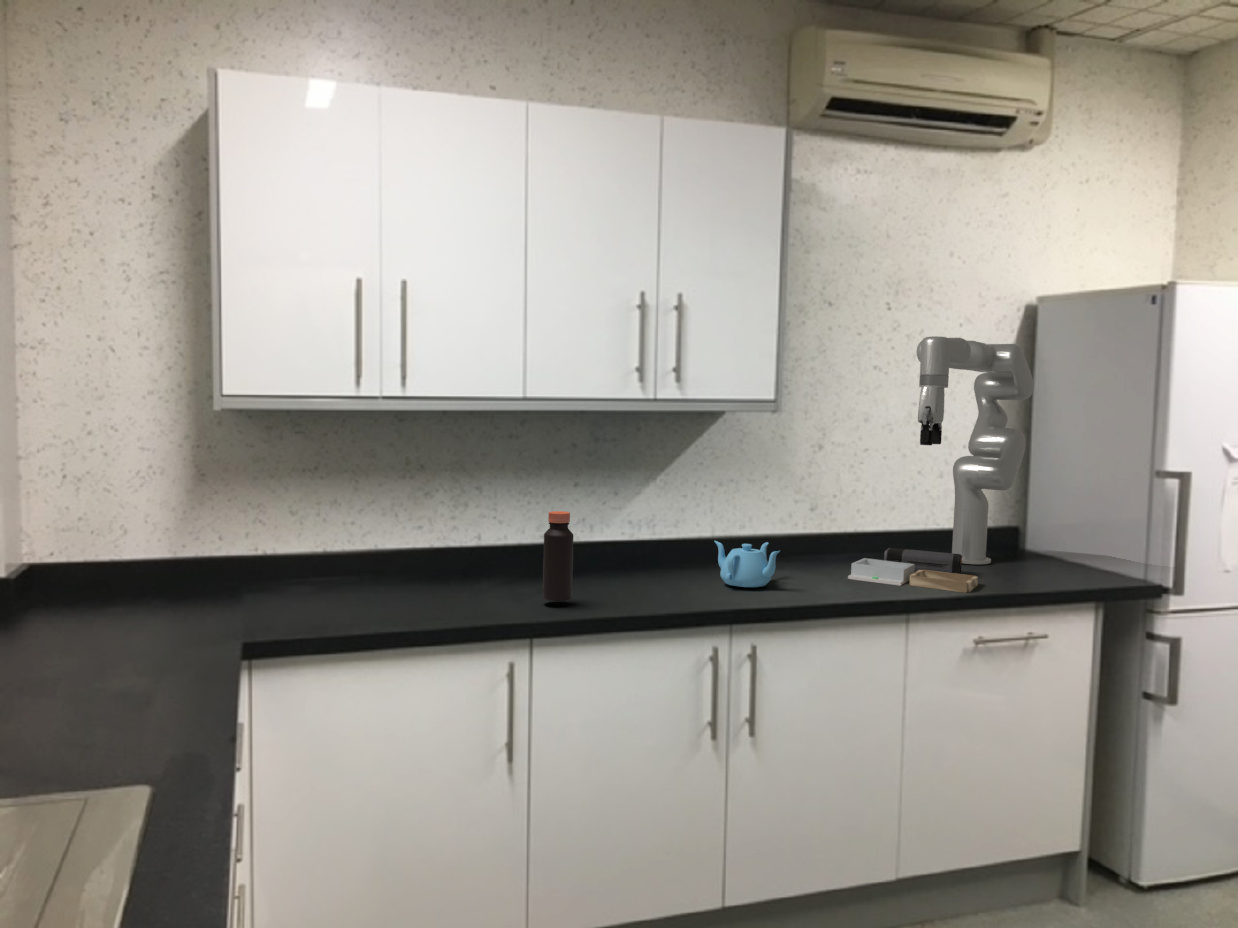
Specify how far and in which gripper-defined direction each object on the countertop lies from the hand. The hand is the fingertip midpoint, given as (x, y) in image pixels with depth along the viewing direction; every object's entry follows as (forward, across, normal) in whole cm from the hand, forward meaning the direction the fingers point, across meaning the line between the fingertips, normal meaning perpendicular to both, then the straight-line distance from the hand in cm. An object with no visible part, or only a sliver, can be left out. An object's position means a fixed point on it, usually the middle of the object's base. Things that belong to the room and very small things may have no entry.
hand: (930, 444), depth 254 cm
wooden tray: (+36, +12, +8) cm, 39 cm away
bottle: (+36, +89, -61) cm, 114 cm away
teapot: (+36, +43, -34) cm, 66 cm away
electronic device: (+33, 0, -11) cm, 35 cm away
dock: (+36, +12, -8) cm, 39 cm away
